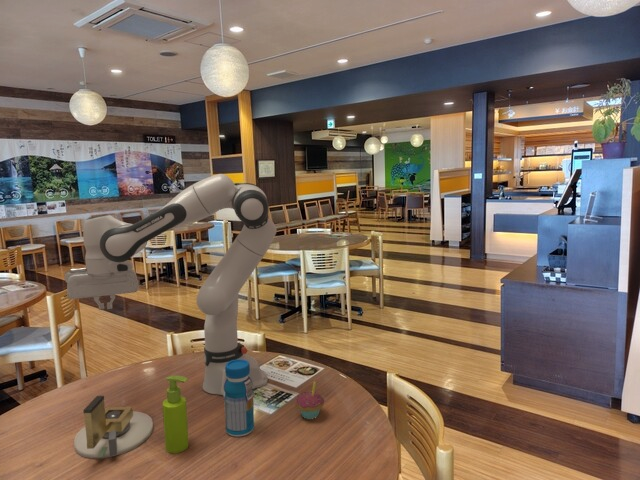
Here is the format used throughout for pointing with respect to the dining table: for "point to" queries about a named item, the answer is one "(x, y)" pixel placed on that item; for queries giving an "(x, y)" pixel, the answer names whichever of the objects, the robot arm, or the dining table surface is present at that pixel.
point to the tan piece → (103, 420)
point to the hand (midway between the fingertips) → (105, 308)
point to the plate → (117, 439)
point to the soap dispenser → (175, 417)
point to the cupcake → (309, 403)
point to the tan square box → (115, 416)
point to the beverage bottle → (238, 398)
